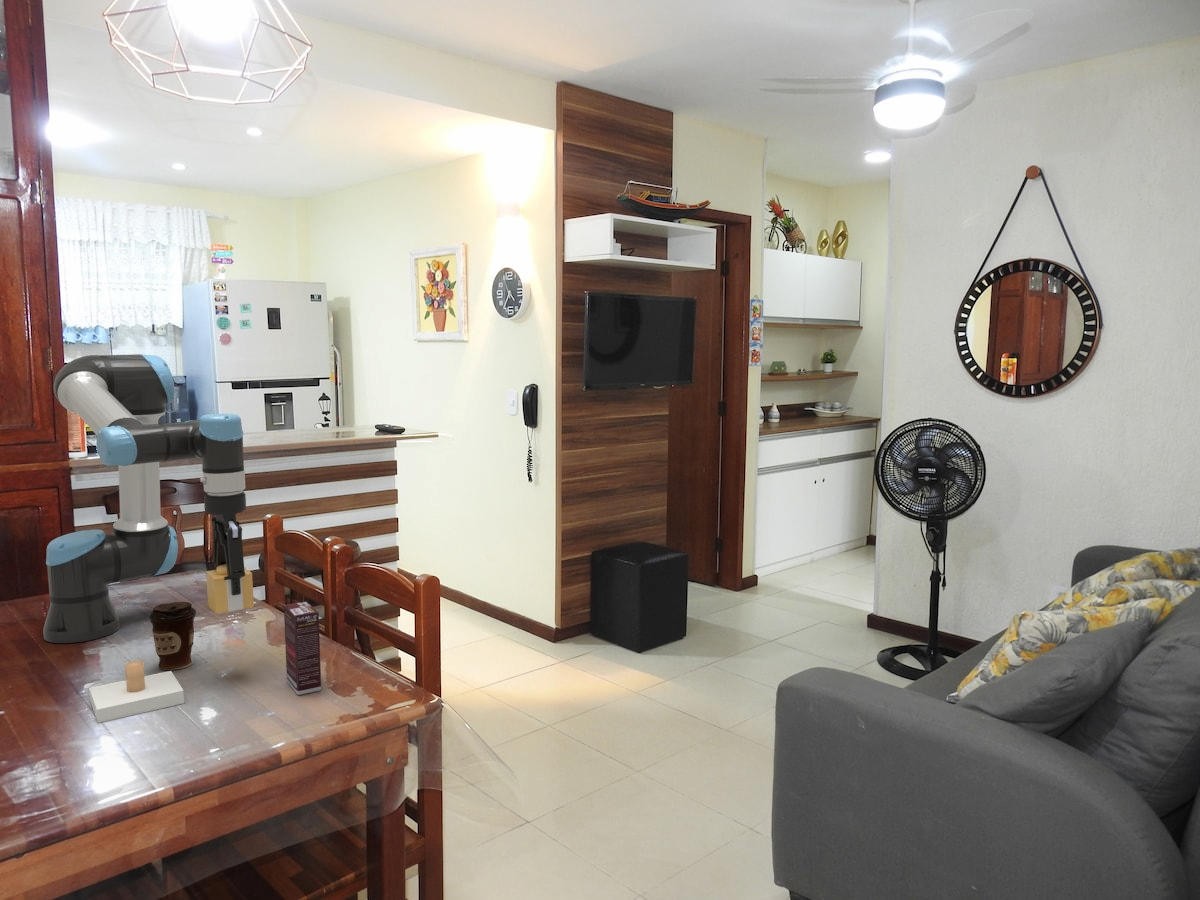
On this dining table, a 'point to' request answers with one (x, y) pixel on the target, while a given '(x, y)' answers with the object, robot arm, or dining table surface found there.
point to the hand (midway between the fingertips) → (230, 604)
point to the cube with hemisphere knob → (219, 589)
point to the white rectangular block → (135, 693)
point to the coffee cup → (173, 634)
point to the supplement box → (302, 647)
